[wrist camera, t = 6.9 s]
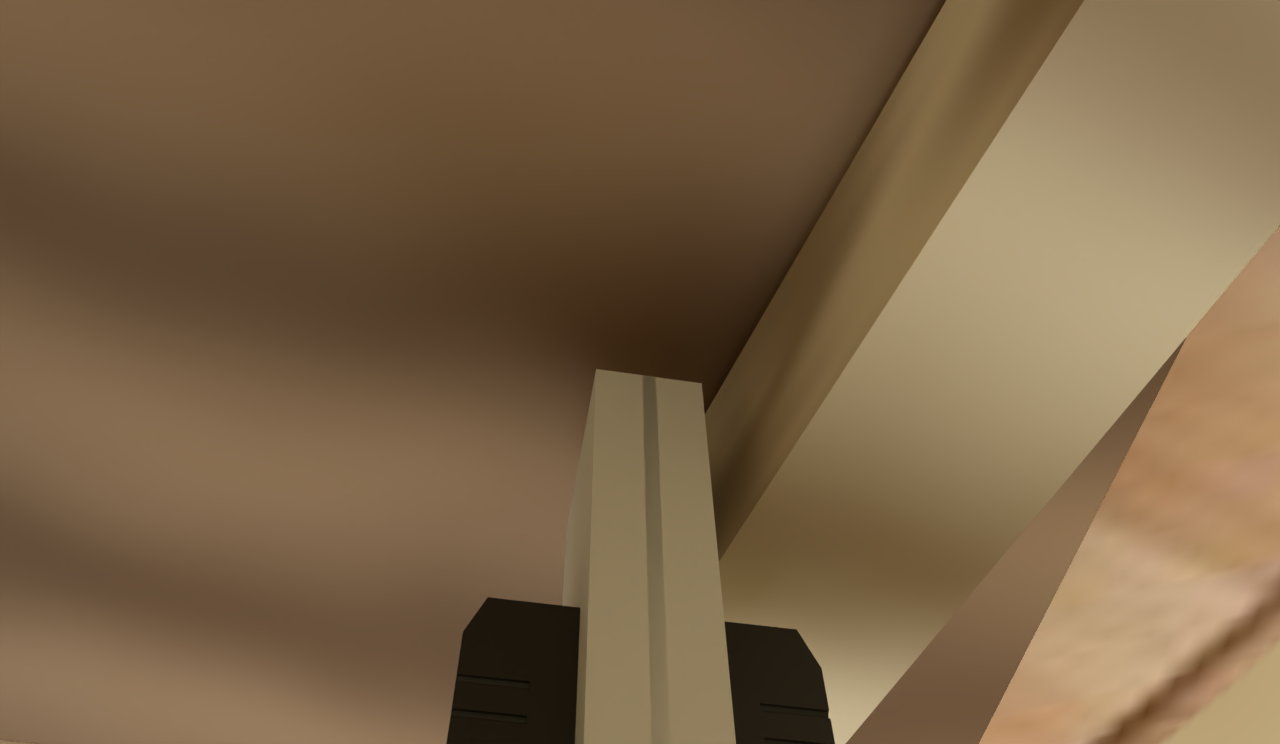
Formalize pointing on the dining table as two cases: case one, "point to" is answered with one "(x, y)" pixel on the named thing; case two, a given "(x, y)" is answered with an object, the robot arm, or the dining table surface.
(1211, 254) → the folding leg
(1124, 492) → the dining table surface
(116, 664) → the stool seat
